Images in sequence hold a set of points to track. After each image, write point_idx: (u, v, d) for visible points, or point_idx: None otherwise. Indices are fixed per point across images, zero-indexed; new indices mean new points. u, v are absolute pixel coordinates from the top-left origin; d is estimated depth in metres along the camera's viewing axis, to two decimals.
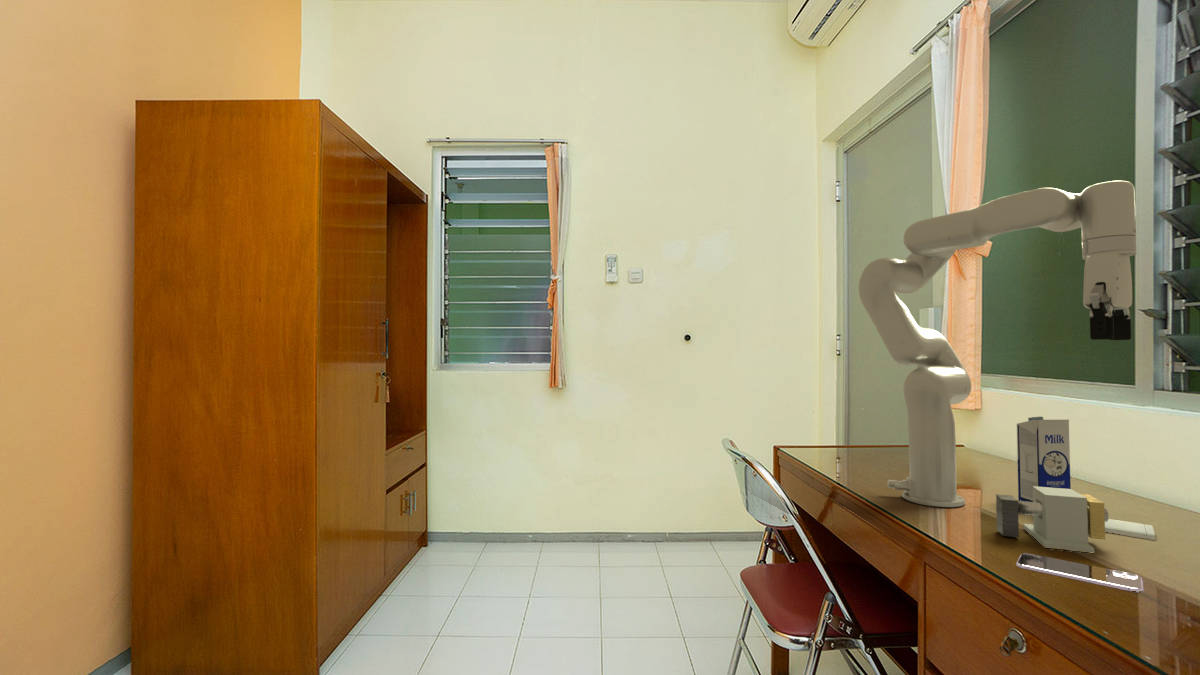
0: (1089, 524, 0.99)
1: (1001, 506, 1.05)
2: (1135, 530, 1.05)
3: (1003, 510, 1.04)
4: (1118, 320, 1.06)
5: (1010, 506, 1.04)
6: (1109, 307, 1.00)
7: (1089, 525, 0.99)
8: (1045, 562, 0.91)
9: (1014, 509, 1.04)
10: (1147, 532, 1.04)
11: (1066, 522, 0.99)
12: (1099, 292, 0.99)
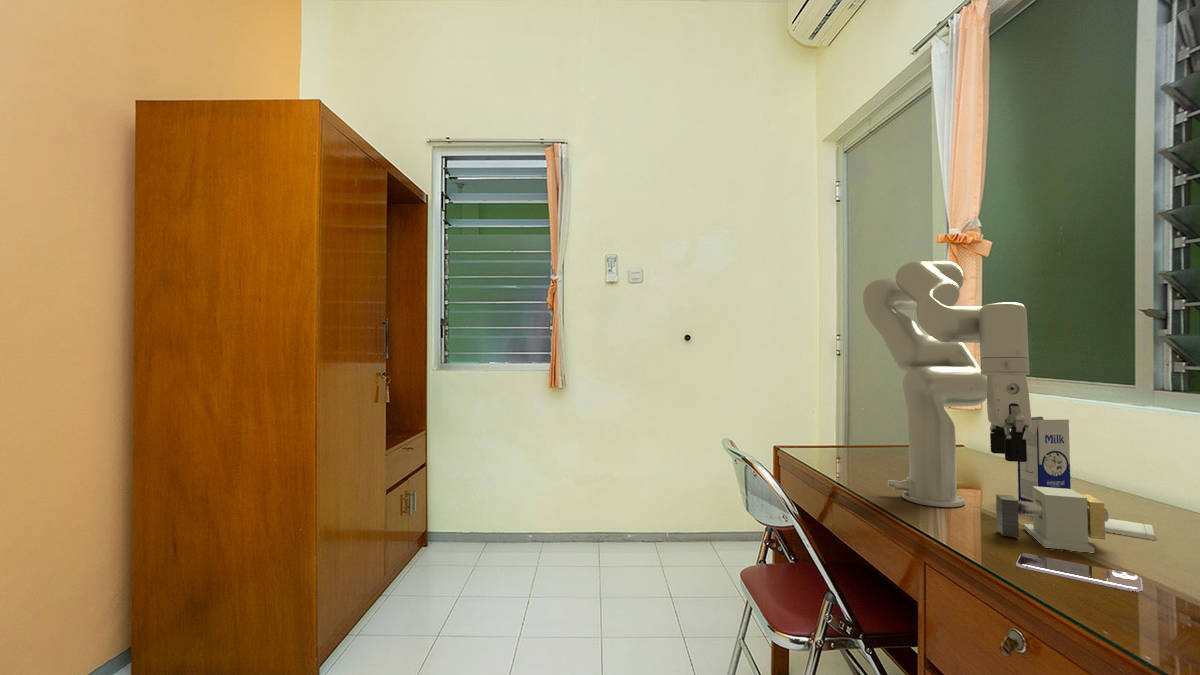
0: (1089, 524, 0.99)
1: (1001, 506, 1.05)
2: (1135, 530, 1.05)
3: (1003, 510, 1.04)
4: None
5: (1010, 506, 1.04)
6: (991, 423, 1.11)
7: (1089, 525, 0.99)
8: (1045, 562, 0.91)
9: (1014, 509, 1.04)
10: (1147, 532, 1.04)
11: (1066, 522, 0.99)
12: None
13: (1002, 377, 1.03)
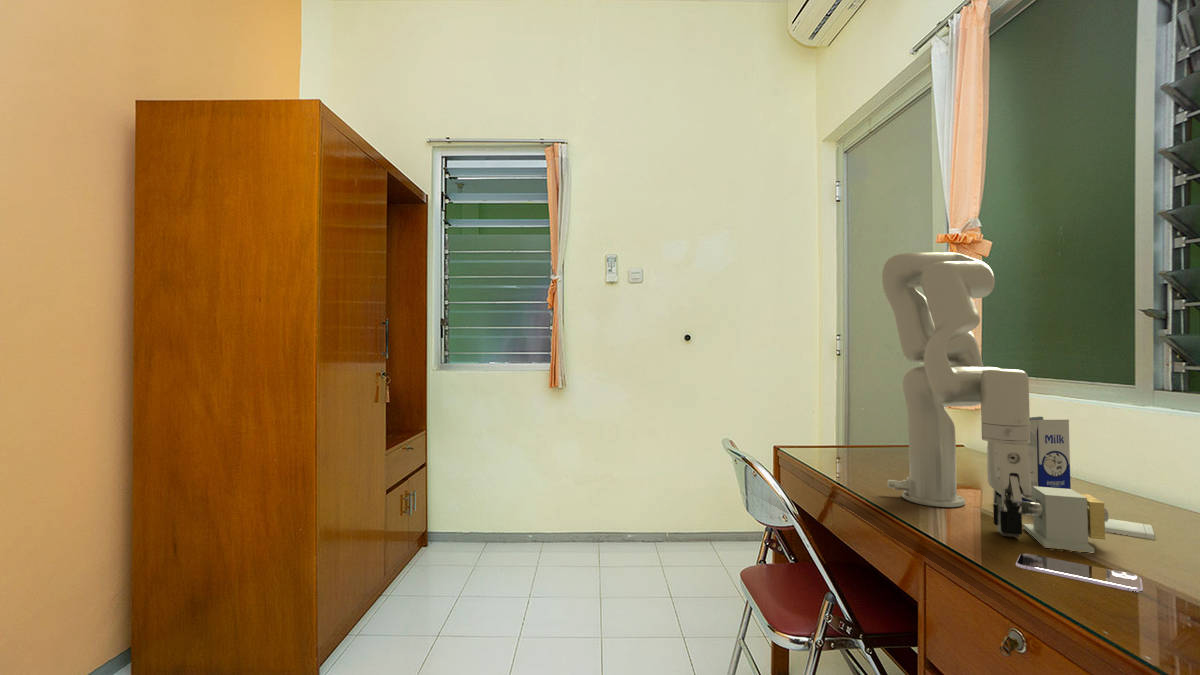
0: (1089, 524, 0.99)
1: (1001, 506, 1.05)
2: (1134, 530, 1.05)
3: None
4: None
5: None
6: (994, 494, 1.09)
7: (1089, 525, 0.99)
8: (1044, 562, 0.91)
9: None
10: (1146, 532, 1.04)
11: (1066, 522, 0.99)
12: None
13: (1003, 446, 1.03)
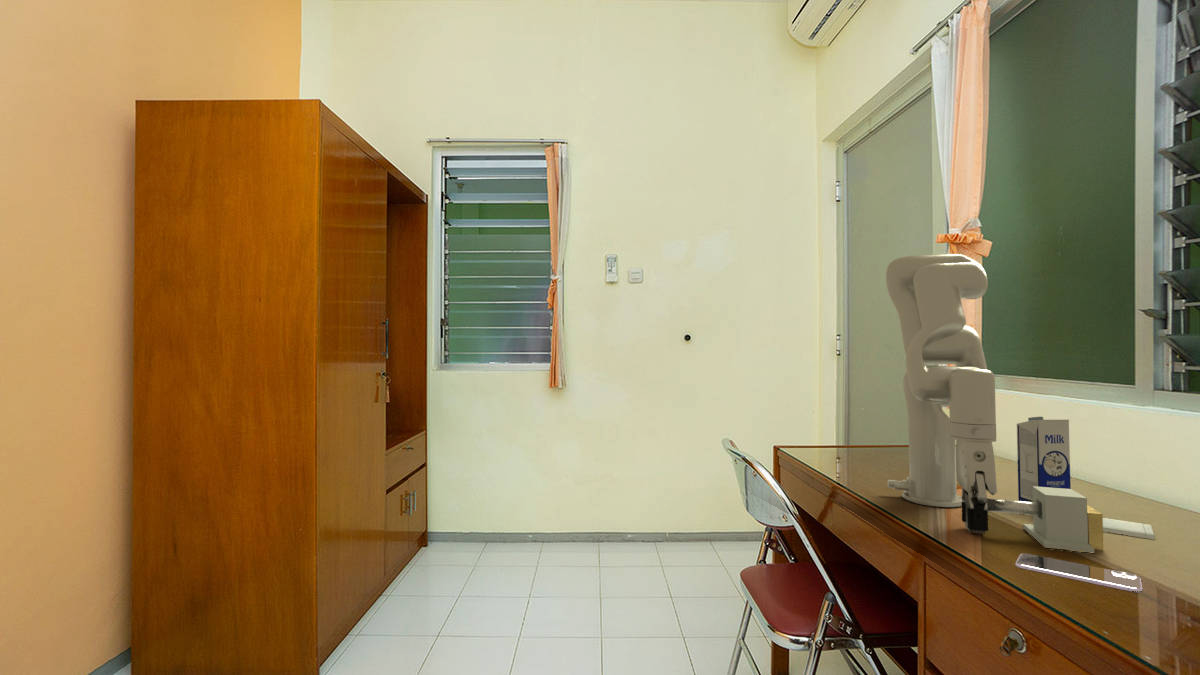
0: None
1: (968, 503, 1.07)
2: (1134, 530, 1.05)
3: None
4: None
5: None
6: (962, 491, 1.11)
7: None
8: (1044, 562, 0.91)
9: None
10: (1146, 532, 1.04)
11: (1066, 522, 0.99)
12: None
13: (970, 444, 1.05)
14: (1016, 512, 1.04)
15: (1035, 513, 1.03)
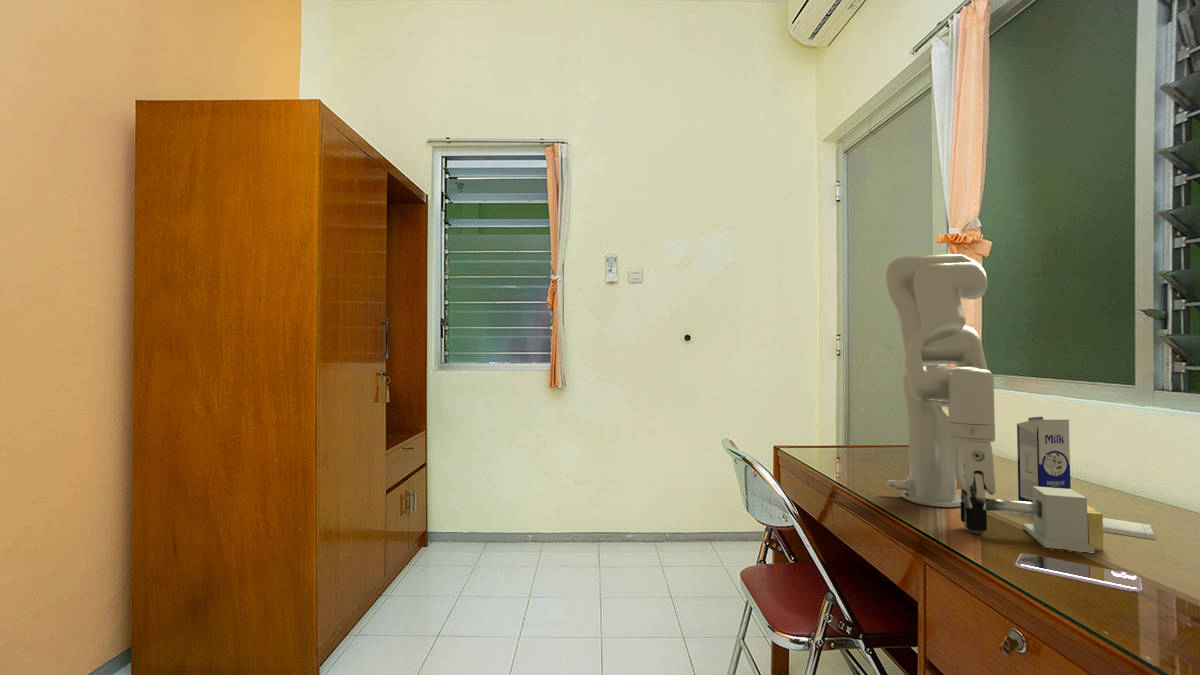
0: None
1: (967, 503, 1.07)
2: (1134, 529, 1.06)
3: None
4: None
5: None
6: (961, 491, 1.11)
7: None
8: (1044, 562, 0.91)
9: None
10: (1146, 531, 1.04)
11: (1066, 522, 0.99)
12: None
13: (968, 444, 1.05)
14: (1015, 512, 1.04)
15: (1034, 513, 1.03)
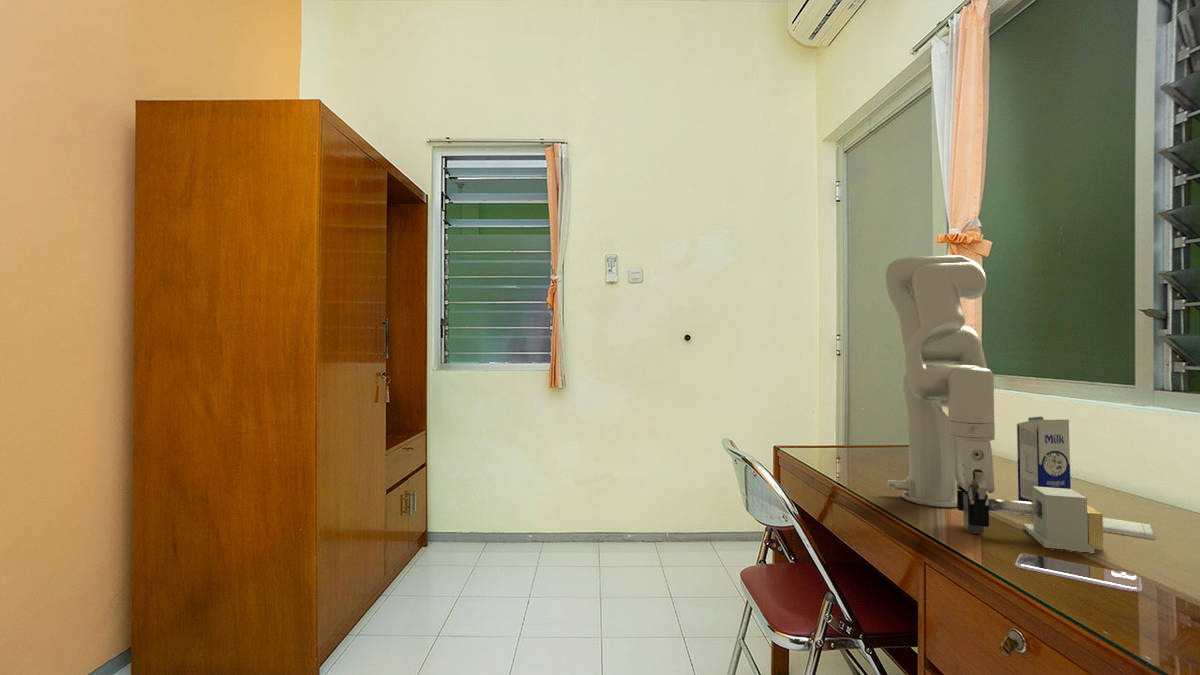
0: None
1: (967, 503, 1.07)
2: (1134, 529, 1.06)
3: None
4: None
5: None
6: None
7: None
8: (1044, 562, 0.91)
9: None
10: (1145, 531, 1.05)
11: (1066, 522, 0.99)
12: None
13: (968, 443, 1.05)
14: (1015, 512, 1.04)
15: (1034, 513, 1.03)
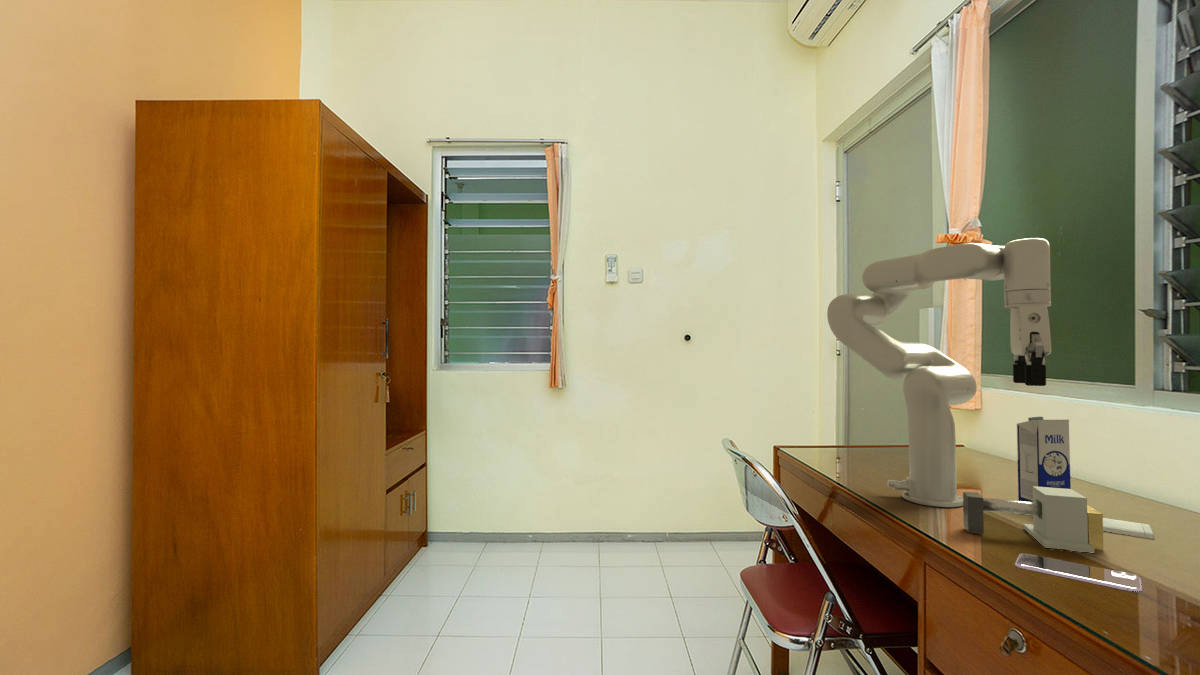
0: None
1: (967, 503, 1.07)
2: (1133, 529, 1.06)
3: (969, 507, 1.06)
4: None
5: (976, 503, 1.06)
6: (1014, 355, 1.18)
7: None
8: (1044, 562, 0.91)
9: (979, 506, 1.06)
10: (1145, 531, 1.05)
11: (1066, 522, 0.99)
12: None
13: (1024, 308, 1.10)
14: (1015, 512, 1.04)
15: (1034, 513, 1.03)
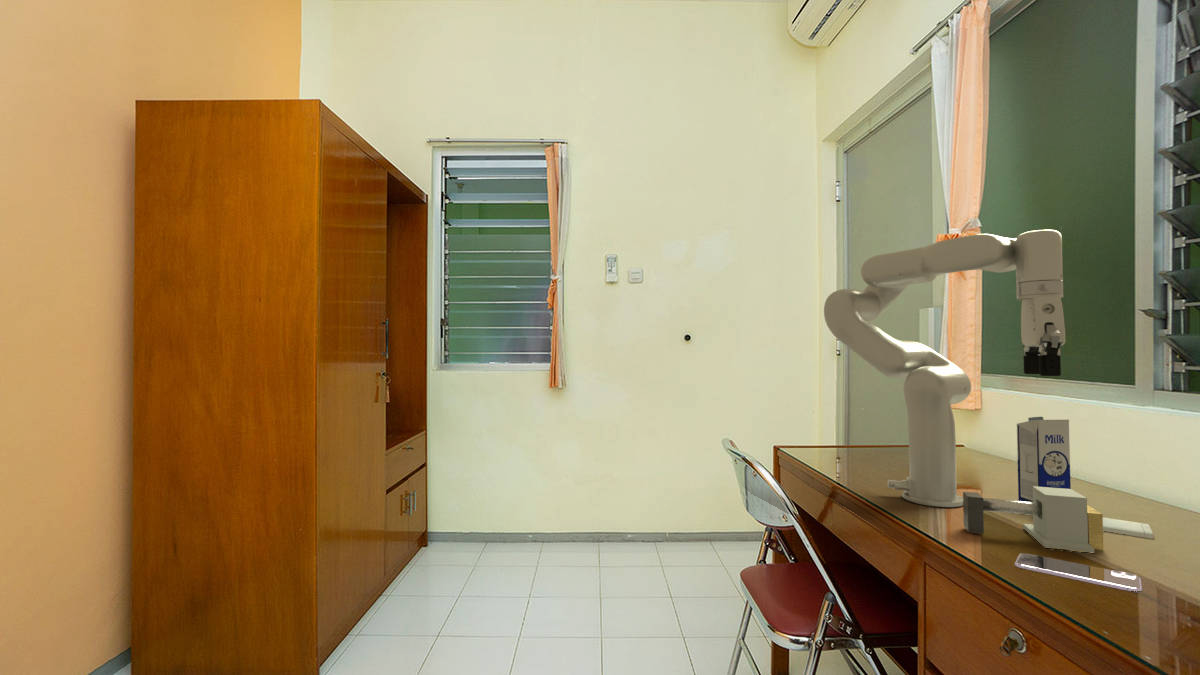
0: None
1: (967, 503, 1.07)
2: (1133, 529, 1.06)
3: (969, 507, 1.06)
4: None
5: (976, 503, 1.06)
6: (1025, 347, 1.19)
7: None
8: (1044, 562, 0.91)
9: (979, 506, 1.06)
10: (1145, 531, 1.05)
11: (1066, 522, 0.99)
12: None
13: (1038, 299, 1.10)
14: (1015, 512, 1.04)
15: (1034, 513, 1.03)
